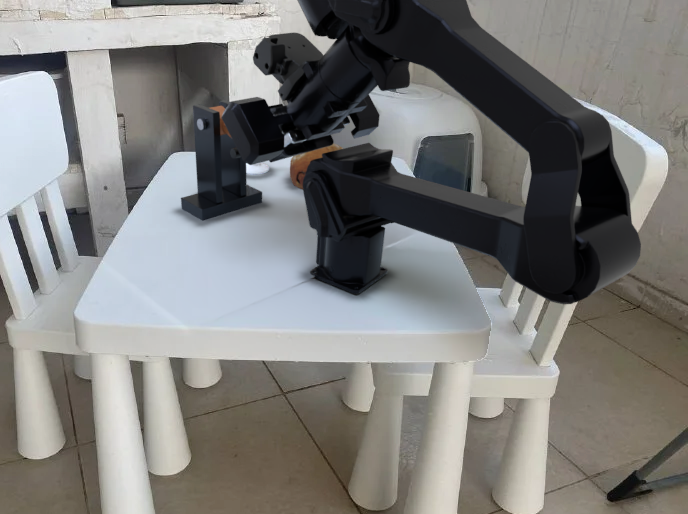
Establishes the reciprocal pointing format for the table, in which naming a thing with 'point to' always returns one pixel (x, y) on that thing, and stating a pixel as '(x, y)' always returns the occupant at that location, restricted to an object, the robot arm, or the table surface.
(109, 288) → the table surface
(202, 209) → the stand
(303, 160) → the bread roll
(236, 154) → the brown black t-shaped piece
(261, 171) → the chess piece
